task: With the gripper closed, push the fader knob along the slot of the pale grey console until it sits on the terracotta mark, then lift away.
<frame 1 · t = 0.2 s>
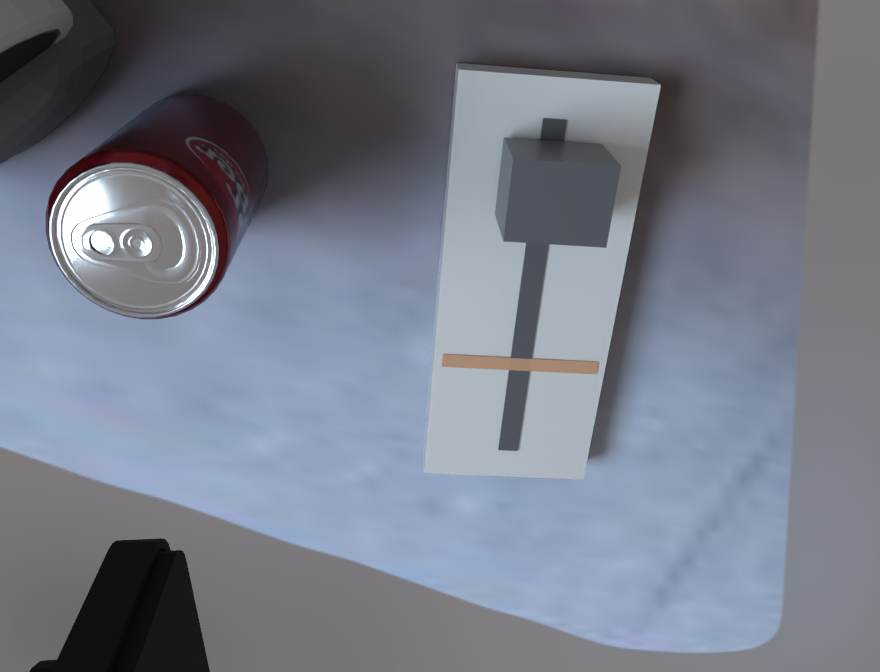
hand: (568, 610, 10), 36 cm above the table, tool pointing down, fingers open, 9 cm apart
soda can: (201, 161, 43), on the table
fader knob: (554, 191, 40), point 4 cm above the table, slide at -7.0 cm
console: (524, 286, 47), on the table
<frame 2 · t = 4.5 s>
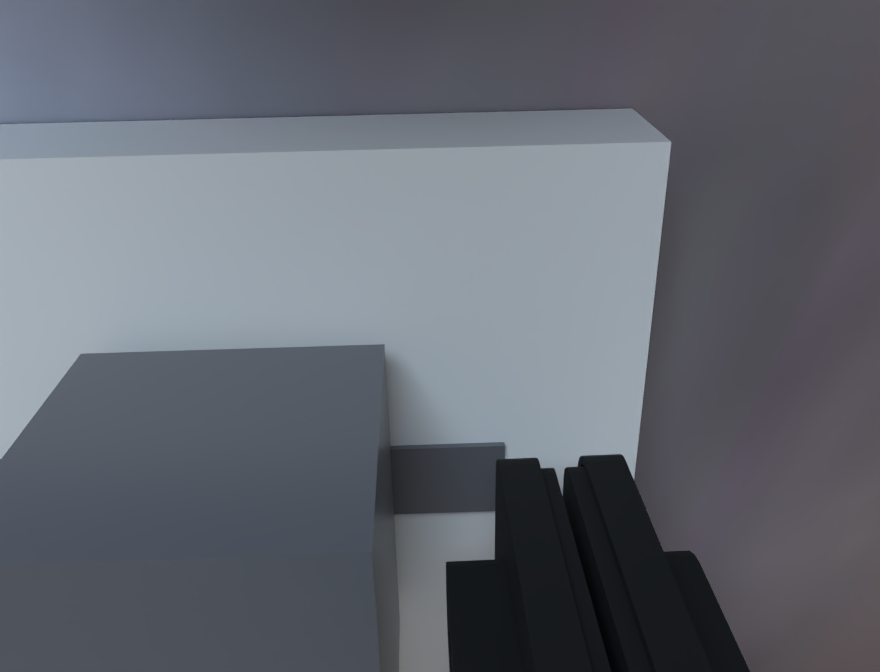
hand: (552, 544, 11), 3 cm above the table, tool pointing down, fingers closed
fader knob: (229, 601, 10), point 4 cm above the table, slide at -6.3 cm, touching gripper
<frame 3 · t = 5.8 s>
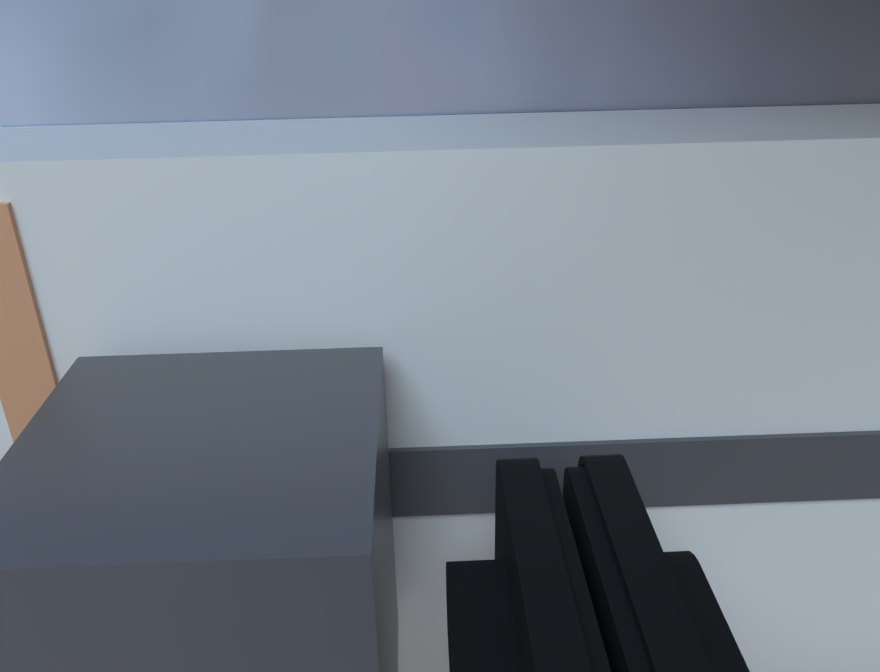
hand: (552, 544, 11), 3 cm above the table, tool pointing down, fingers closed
fader knob: (227, 605, 10), point 4 cm above the table, slide at 1.1 cm, touching gripper
console: (338, 412, 14), on the table
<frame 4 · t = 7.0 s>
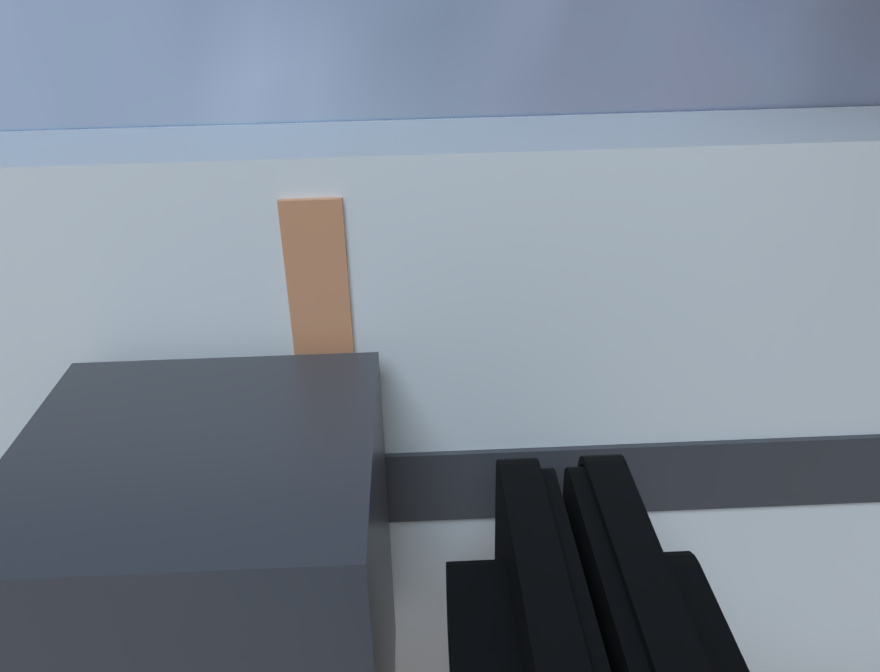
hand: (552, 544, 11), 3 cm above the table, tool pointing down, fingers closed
fader knob: (222, 612, 10), point 4 cm above the table, slide at 5.2 cm, touching gripper
console: (578, 407, 14), on the table
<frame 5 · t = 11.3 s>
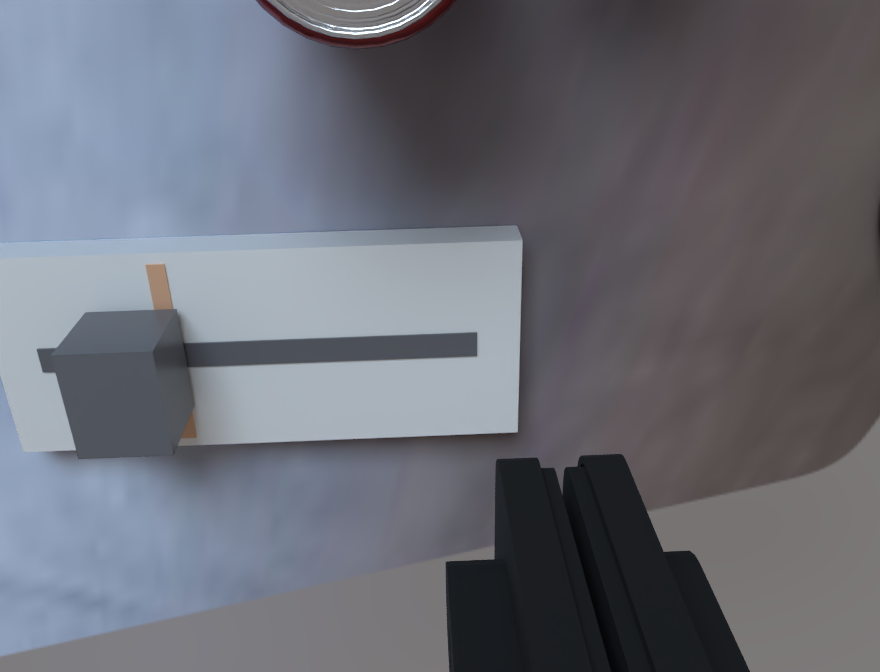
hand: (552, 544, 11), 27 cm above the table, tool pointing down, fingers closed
fader knob: (128, 382, 36), point 4 cm above the table, slide at 5.3 cm
console: (266, 332, 40), on the table
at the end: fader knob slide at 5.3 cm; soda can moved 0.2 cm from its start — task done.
